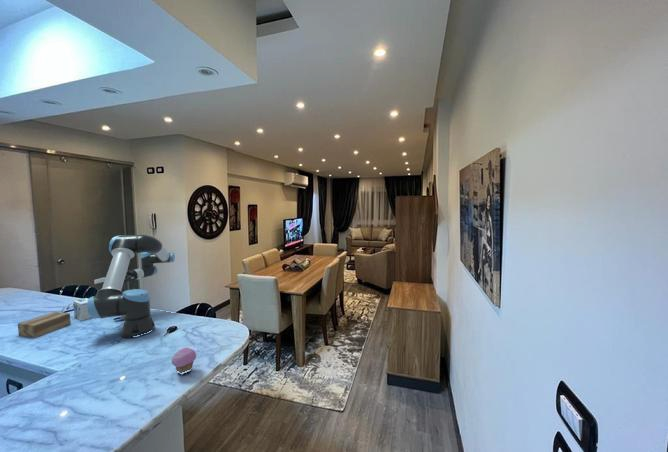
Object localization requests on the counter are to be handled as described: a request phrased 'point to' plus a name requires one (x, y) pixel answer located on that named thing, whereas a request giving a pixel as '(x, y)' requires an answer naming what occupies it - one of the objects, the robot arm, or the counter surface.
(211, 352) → the counter surface
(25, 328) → the walnut block
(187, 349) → the cupcake
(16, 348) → the counter surface
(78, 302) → the light bulb box
